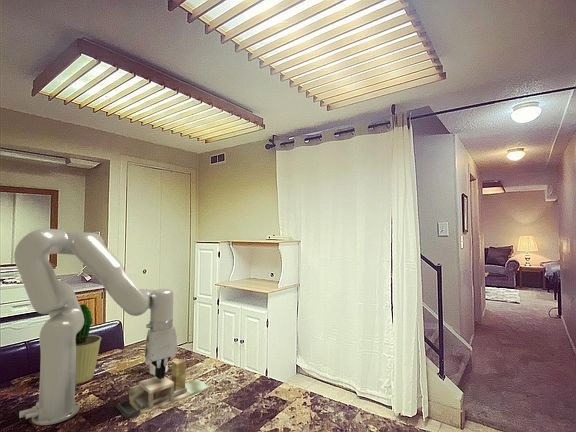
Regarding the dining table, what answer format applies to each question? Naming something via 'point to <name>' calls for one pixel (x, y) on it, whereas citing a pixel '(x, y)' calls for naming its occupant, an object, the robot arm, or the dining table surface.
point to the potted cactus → (86, 349)
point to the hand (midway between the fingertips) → (160, 377)
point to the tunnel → (154, 385)
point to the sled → (161, 395)
